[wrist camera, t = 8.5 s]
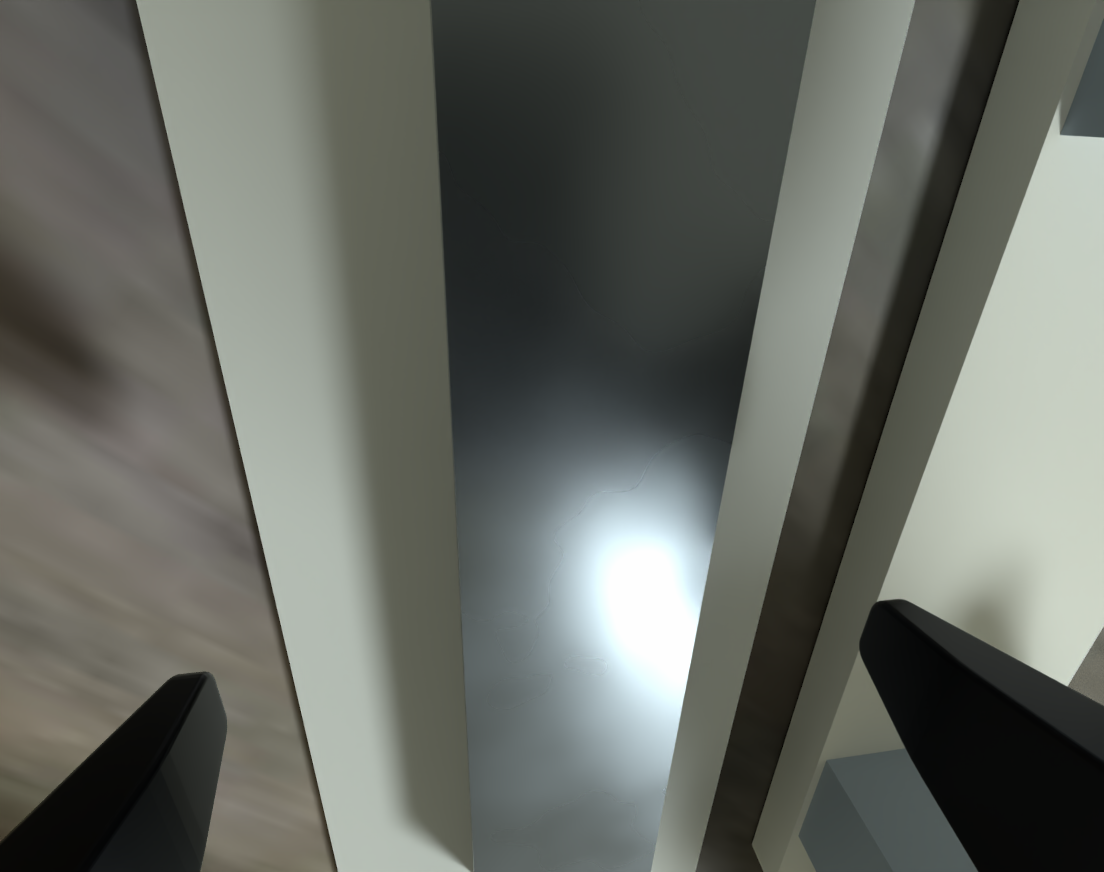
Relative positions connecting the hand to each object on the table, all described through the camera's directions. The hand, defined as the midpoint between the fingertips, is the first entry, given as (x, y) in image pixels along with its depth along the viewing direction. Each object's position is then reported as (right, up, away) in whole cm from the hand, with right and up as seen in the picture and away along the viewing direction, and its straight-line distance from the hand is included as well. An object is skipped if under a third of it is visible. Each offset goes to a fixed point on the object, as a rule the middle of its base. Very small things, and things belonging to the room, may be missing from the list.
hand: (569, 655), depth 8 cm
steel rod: (0, +1, +2) cm, 3 cm away
